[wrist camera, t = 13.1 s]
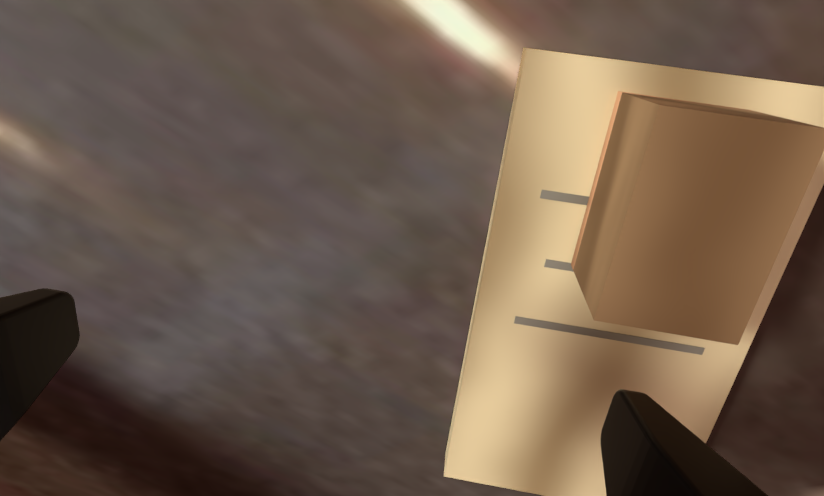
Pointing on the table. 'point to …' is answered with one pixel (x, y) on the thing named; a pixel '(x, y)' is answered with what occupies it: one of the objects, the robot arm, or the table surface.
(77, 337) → the robot arm
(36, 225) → the table surface
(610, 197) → the block
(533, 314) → the birch board
